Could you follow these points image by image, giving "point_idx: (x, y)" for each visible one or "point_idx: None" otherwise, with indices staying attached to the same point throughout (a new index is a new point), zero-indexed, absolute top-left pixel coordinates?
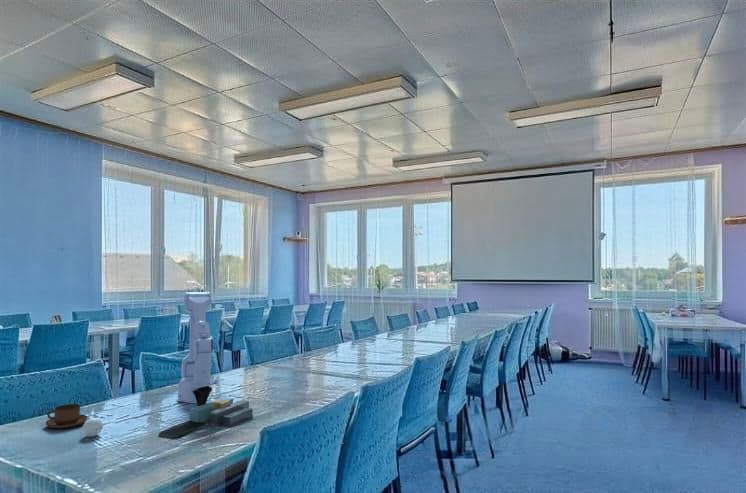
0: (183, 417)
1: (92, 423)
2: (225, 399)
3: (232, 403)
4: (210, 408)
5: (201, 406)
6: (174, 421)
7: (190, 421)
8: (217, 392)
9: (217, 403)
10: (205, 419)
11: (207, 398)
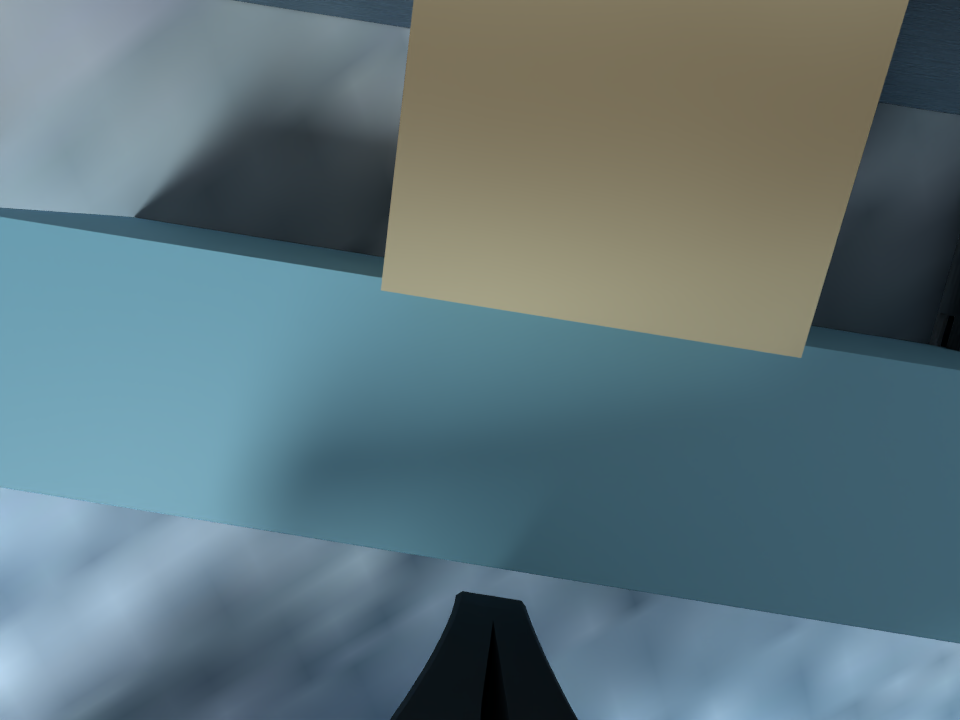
0: (681, 702)
1: None
2: (69, 351)
3: (35, 210)
4: None
5: (831, 553)
6: (873, 710)
7: None
8: None
9: (862, 111)
10: None
11: (405, 705)
